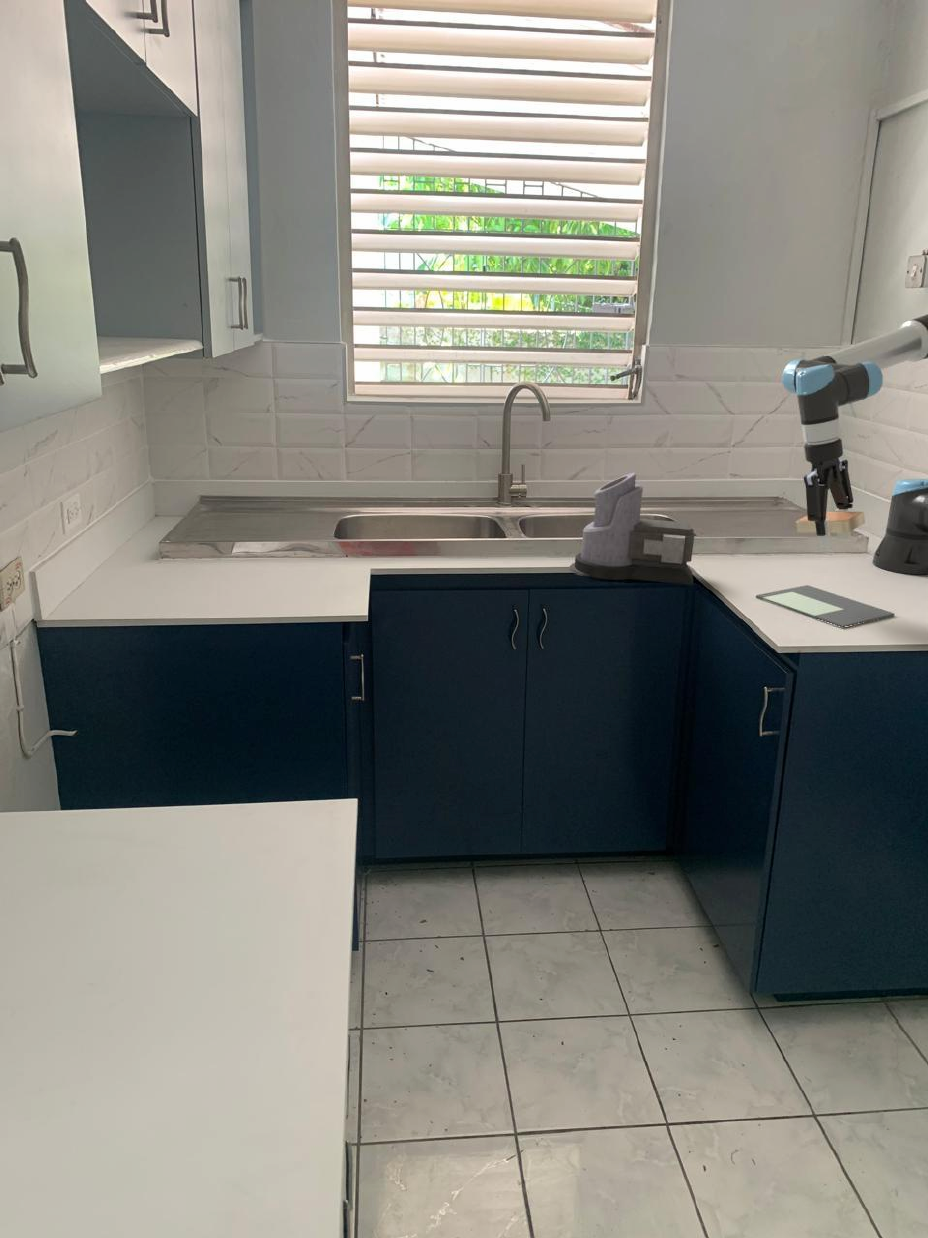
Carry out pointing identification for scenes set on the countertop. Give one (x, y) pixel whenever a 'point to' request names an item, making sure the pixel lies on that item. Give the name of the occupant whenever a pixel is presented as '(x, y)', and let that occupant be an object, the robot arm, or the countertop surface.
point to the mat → (824, 606)
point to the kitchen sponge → (833, 522)
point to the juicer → (632, 540)
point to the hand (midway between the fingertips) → (835, 543)
